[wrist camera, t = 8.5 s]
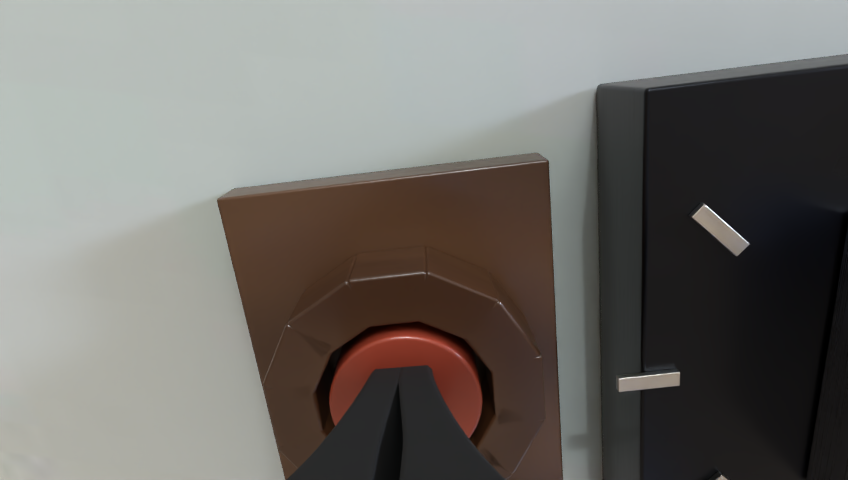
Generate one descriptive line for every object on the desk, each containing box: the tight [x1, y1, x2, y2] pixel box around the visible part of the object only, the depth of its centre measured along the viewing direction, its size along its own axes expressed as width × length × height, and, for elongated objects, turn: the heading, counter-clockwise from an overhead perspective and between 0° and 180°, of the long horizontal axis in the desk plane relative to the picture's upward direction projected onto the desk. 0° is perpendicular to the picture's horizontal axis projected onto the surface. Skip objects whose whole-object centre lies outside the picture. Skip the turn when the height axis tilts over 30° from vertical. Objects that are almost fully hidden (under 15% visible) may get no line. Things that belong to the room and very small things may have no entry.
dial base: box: [597, 54, 848, 480], centre depth 13 cm, size 13×11×3 cm
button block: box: [217, 153, 563, 480], centre depth 14 cm, size 10×8×3 cm
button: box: [329, 321, 483, 438], centre depth 13 cm, size 4×4×2 cm
